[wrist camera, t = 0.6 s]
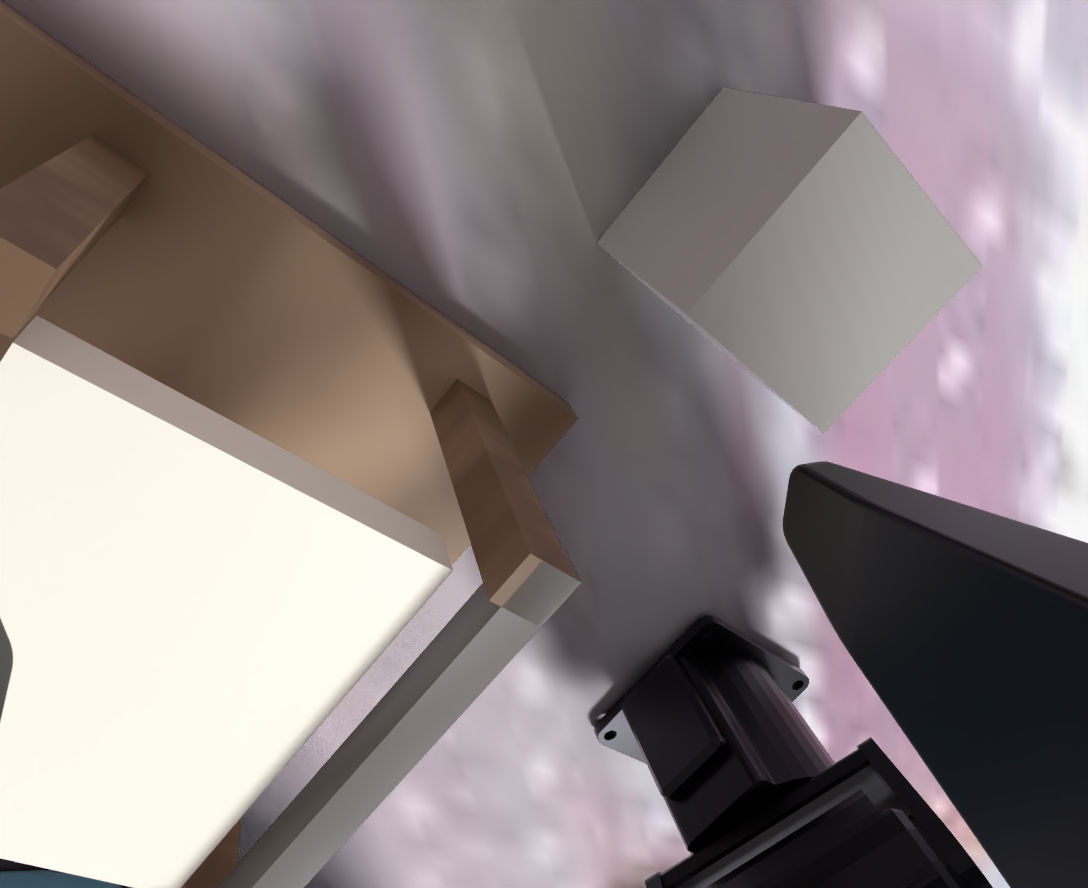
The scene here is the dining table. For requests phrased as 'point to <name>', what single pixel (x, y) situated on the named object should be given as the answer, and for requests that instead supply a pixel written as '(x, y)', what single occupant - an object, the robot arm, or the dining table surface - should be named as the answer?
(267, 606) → the trapdoor
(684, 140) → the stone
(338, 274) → the trapdoor stand
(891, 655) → the robot arm
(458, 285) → the dining table surface
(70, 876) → the casserole dish
